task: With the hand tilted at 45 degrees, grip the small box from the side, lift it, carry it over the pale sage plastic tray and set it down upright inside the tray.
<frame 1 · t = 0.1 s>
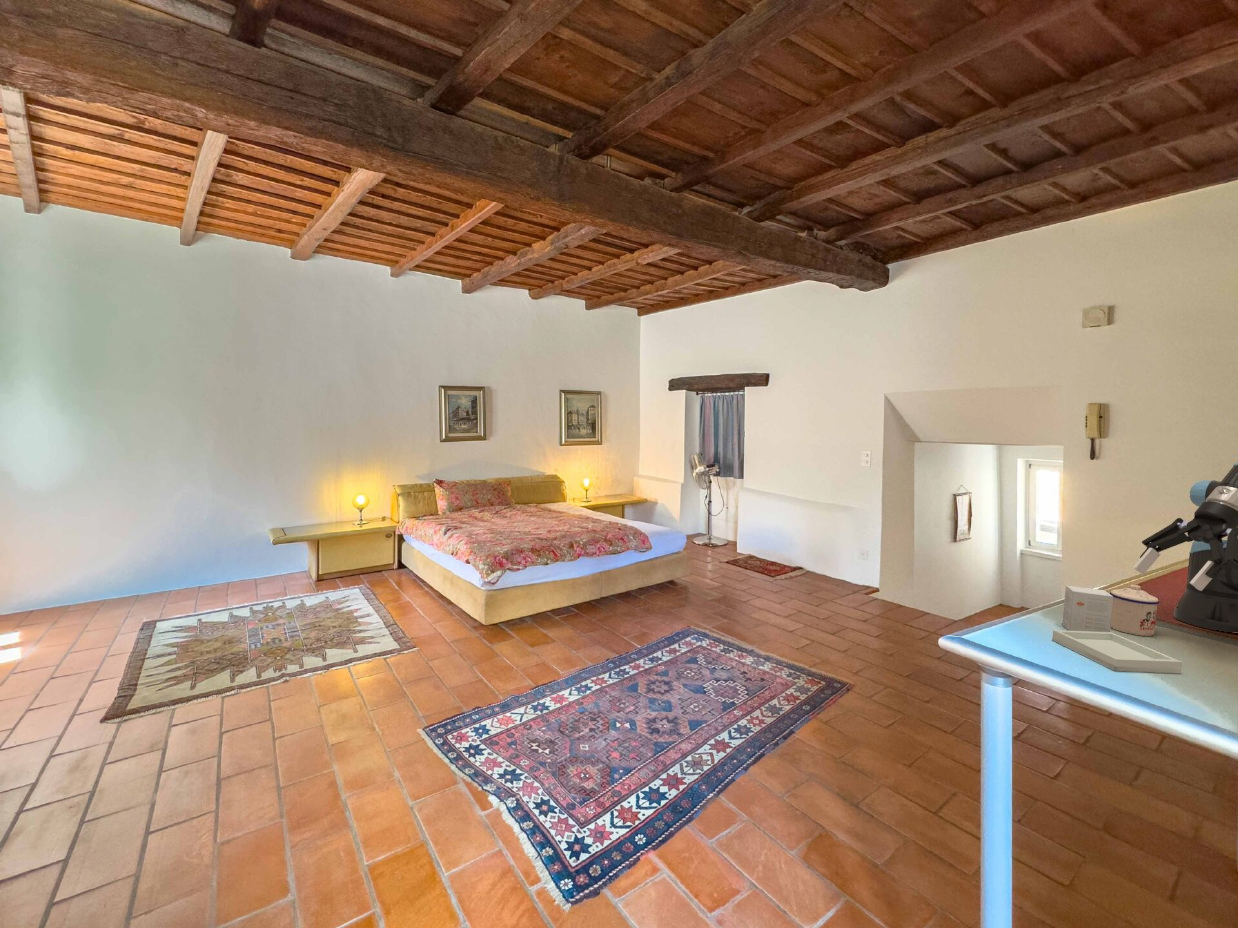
hand: (1165, 578, 130), 15 cm above the table, tool tilted 35°, fingers open, 13 cm apart
sage tray: (1112, 655, 121), on the table
small box: (1084, 632, 136), on the table
teacup with lid: (1132, 629, 139), on the table
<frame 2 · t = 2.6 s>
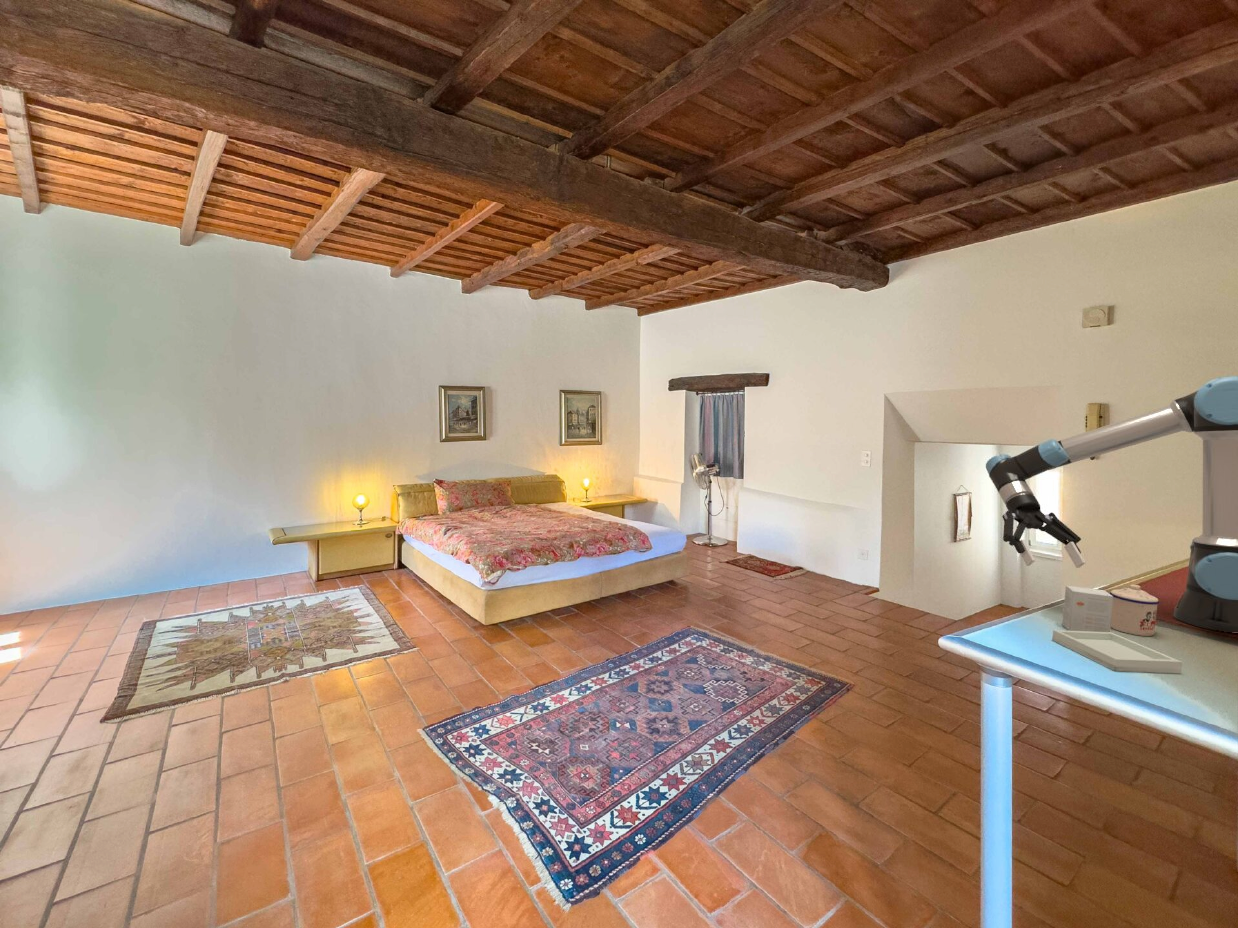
hand: (1056, 564, 145), 14 cm above the table, tool tilted 45°, fingers open, 13 cm apart
nothing on the table moved.
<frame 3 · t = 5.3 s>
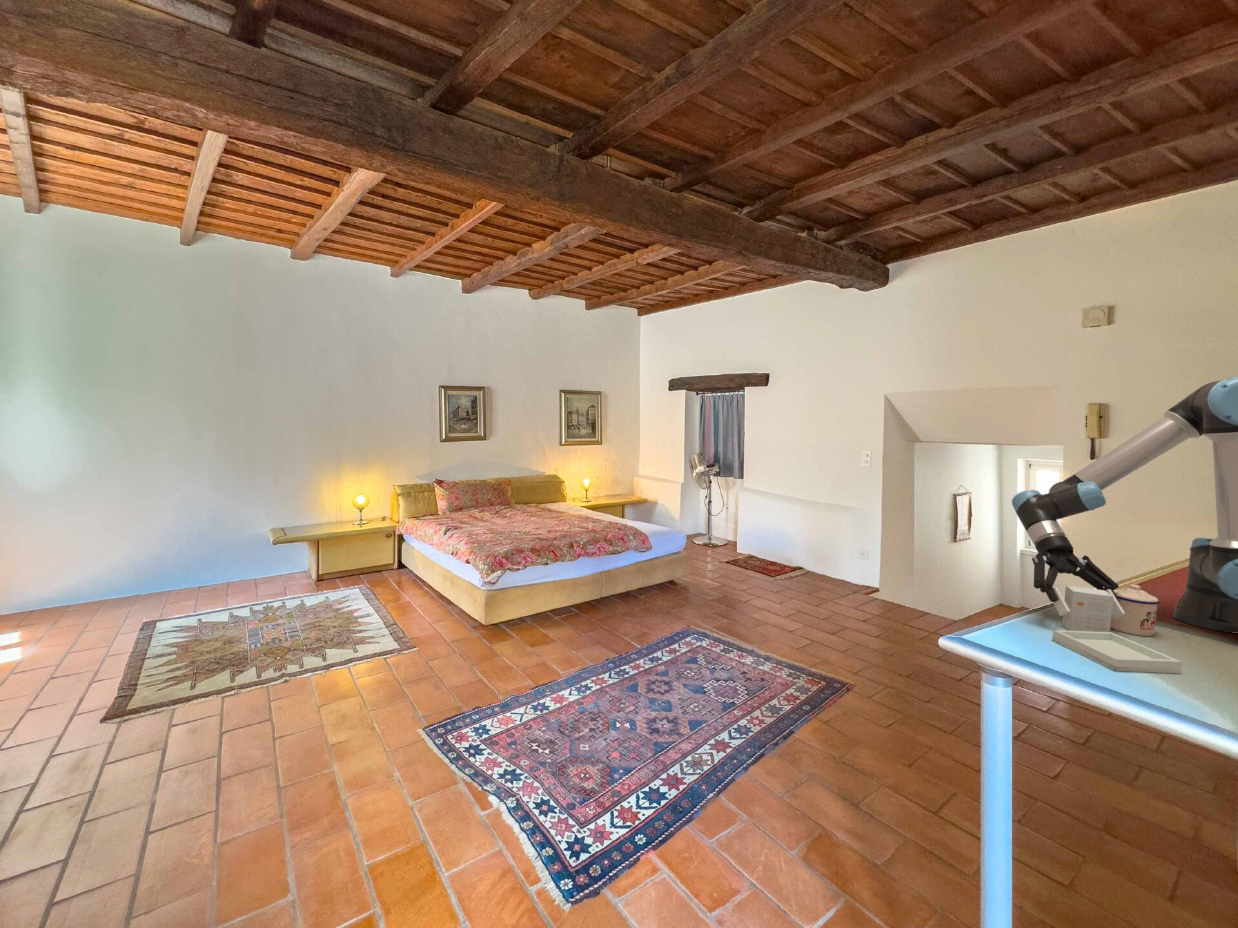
hand: (1092, 614, 133), 5 cm above the table, tool tilted 45°, fingers open, 13 cm apart
teacup with lid: (1132, 629, 139), on the table, touching gripper
everything else where it was.
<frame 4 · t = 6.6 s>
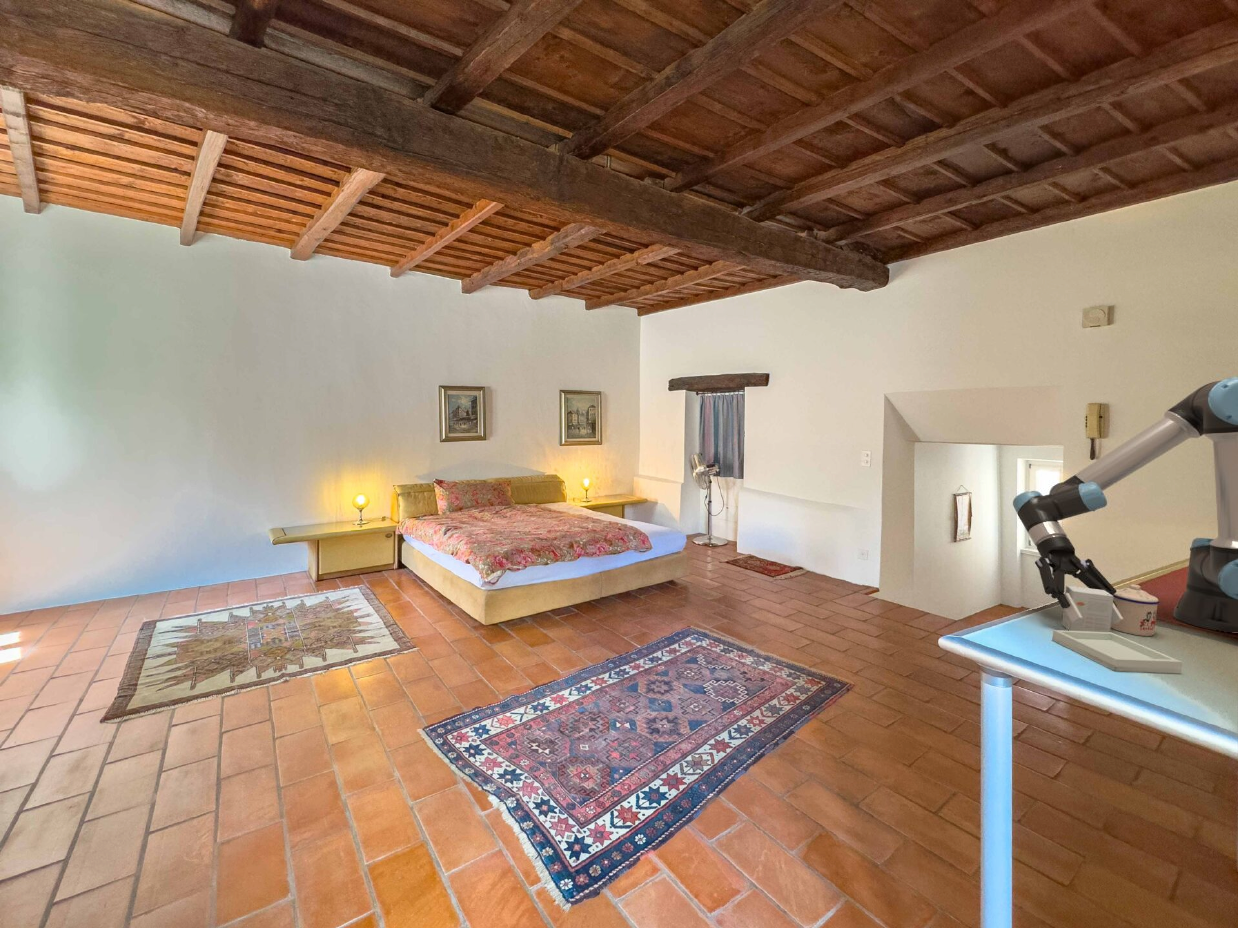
hand: (1097, 620, 132), 4 cm above the table, tool tilted 45°, fingers closed on small box, 9 cm apart
small box: (1084, 632, 136), on the table, touching gripper
teacup with lid: (1132, 629, 139), on the table
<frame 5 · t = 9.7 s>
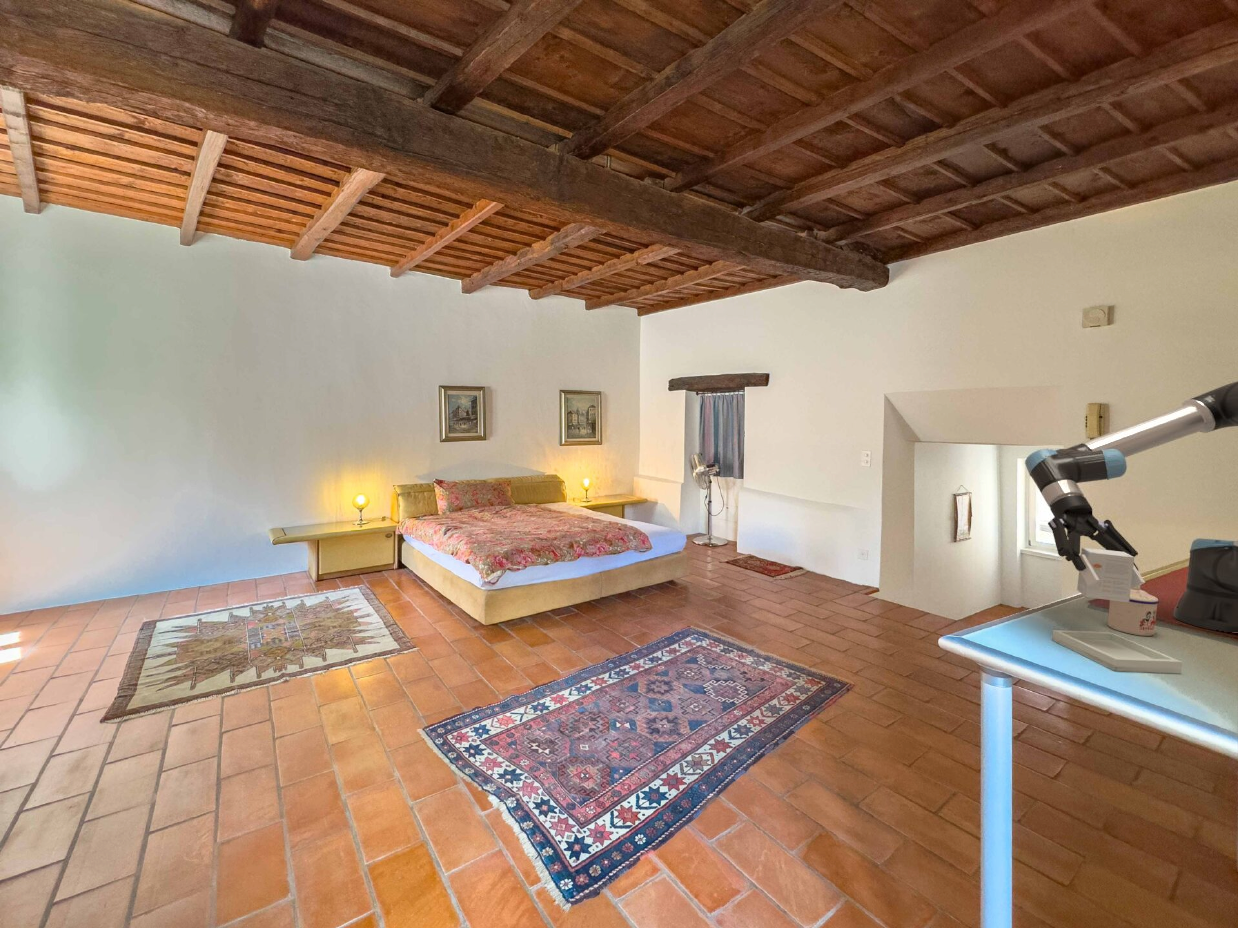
hand: (1116, 584, 121), 16 cm above the table, tool tilted 45°, fingers closed on small box, 9 cm apart
small box: (1101, 597, 125), point 12 cm above the table, touching gripper
everything else where it was.
when the fingers open (6 cm above the table, at t = 13.1 s): small box stays where it is, resting on sage tray.
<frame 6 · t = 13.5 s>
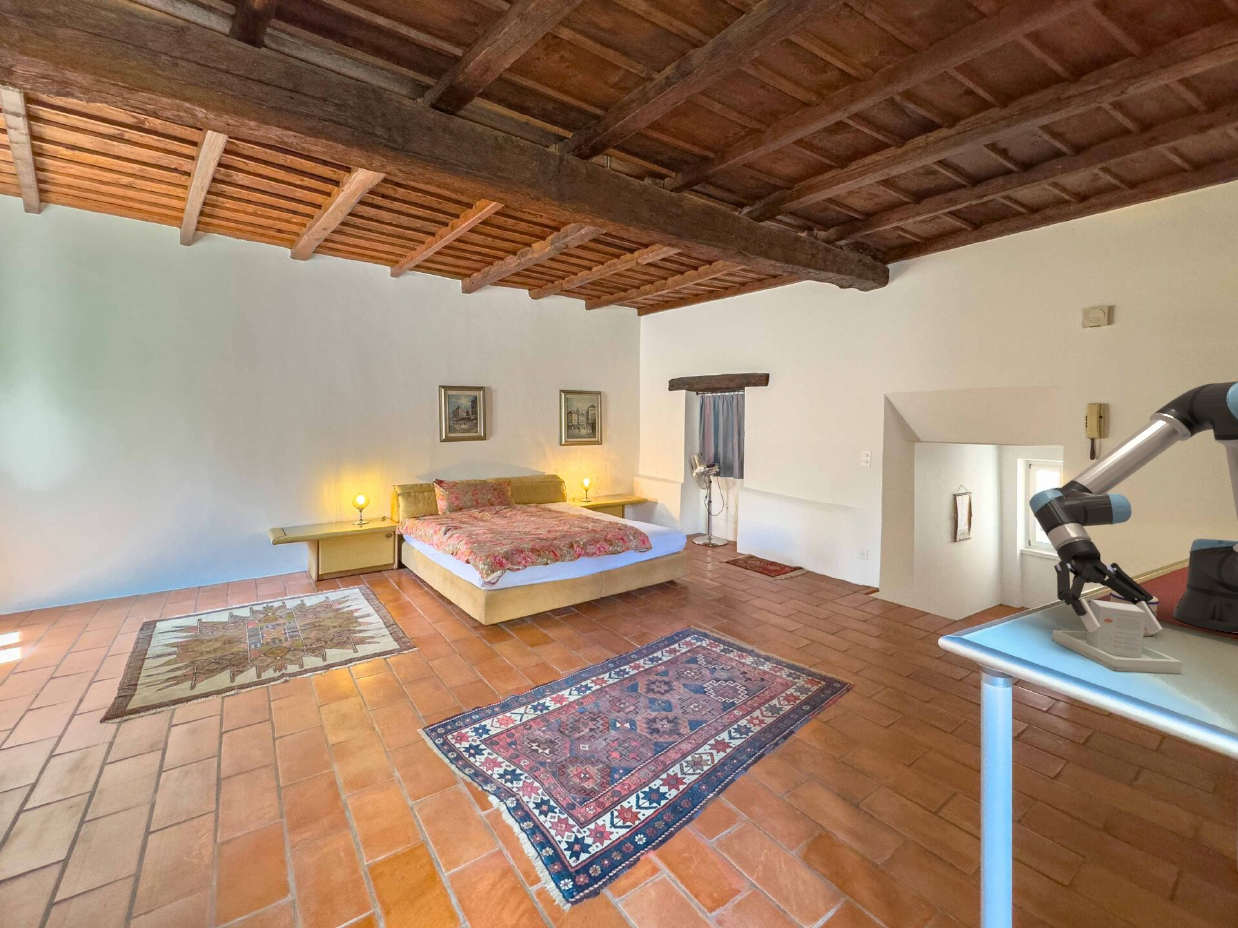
hand: (1125, 630, 118), 7 cm above the table, tool tilted 45°, fingers open, 13 cm apart
small box: (1112, 652, 121), point 1 cm above the table, touching sage tray
everything else where it was.
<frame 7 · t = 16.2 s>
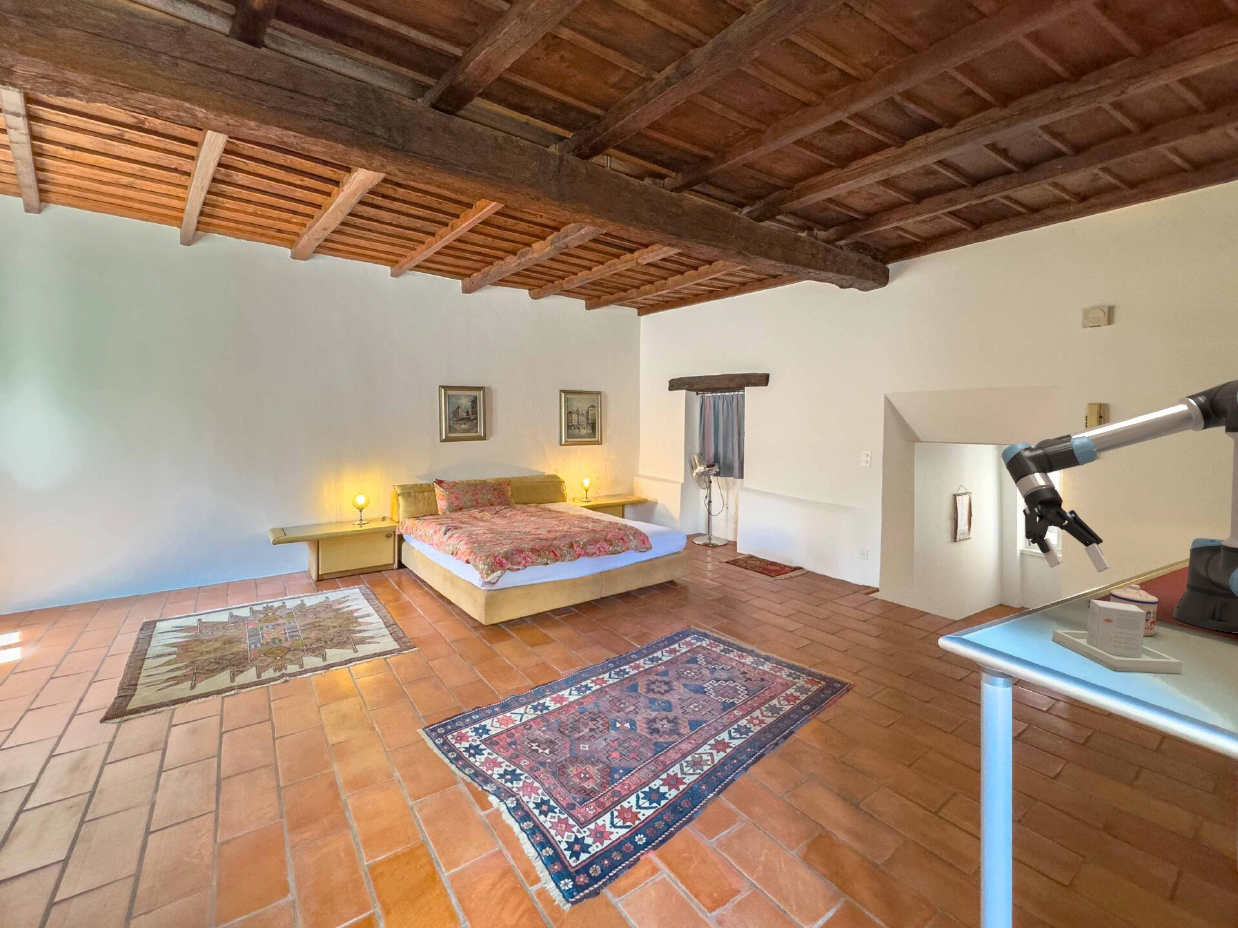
hand: (1080, 567, 131), 17 cm above the table, tool tilted 40°, fingers open, 13 cm apart
nothing on the table moved.
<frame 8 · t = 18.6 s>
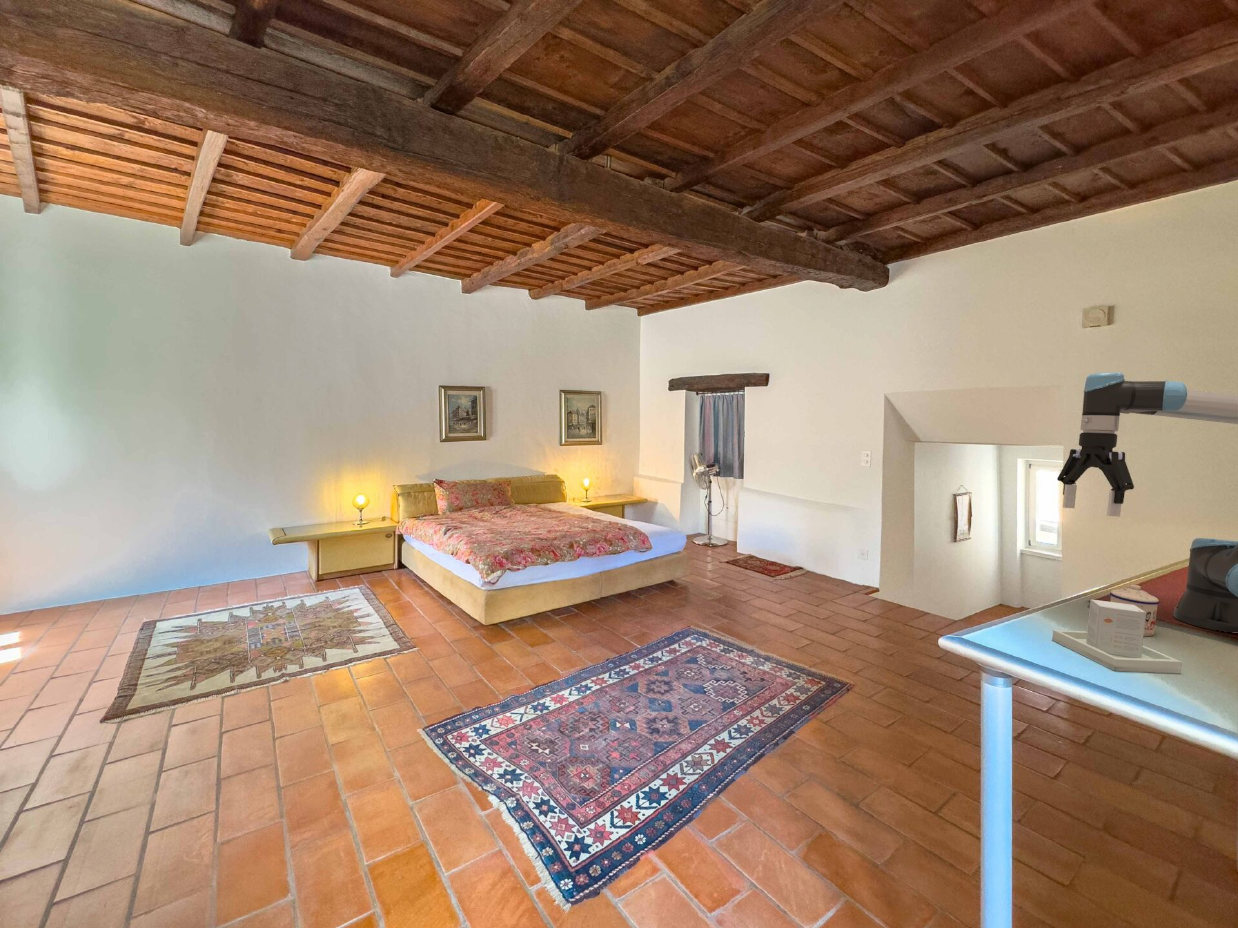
hand: (1089, 511, 145), 29 cm above the table, tool pointing down, fingers open, 13 cm apart
nothing on the table moved.
at the end: small box inside the target area on the sage tray (0.1 cm from its centre), point 0.8 cm above the sage tray's base; small box tilted 0°; the gripper is holding nothing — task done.
